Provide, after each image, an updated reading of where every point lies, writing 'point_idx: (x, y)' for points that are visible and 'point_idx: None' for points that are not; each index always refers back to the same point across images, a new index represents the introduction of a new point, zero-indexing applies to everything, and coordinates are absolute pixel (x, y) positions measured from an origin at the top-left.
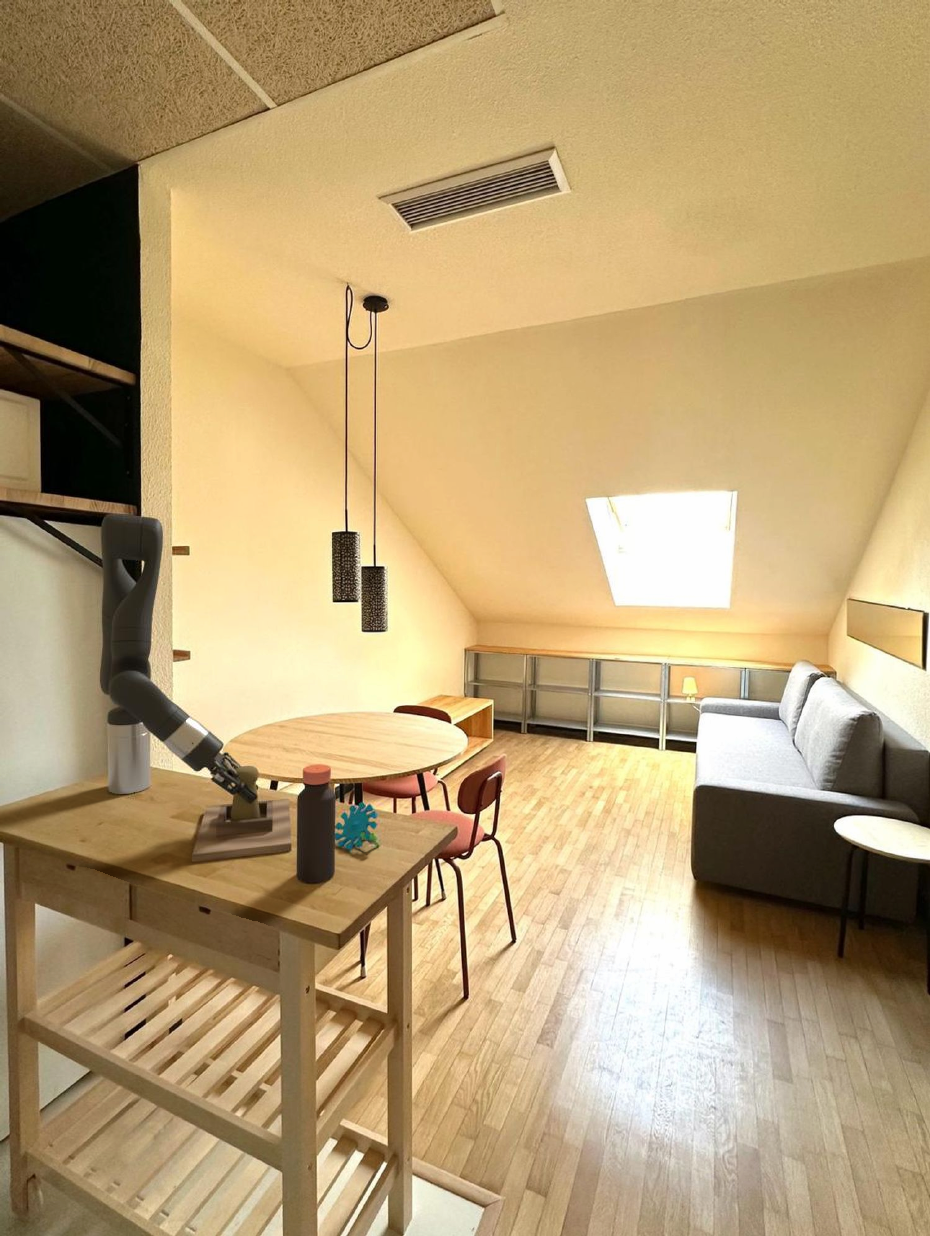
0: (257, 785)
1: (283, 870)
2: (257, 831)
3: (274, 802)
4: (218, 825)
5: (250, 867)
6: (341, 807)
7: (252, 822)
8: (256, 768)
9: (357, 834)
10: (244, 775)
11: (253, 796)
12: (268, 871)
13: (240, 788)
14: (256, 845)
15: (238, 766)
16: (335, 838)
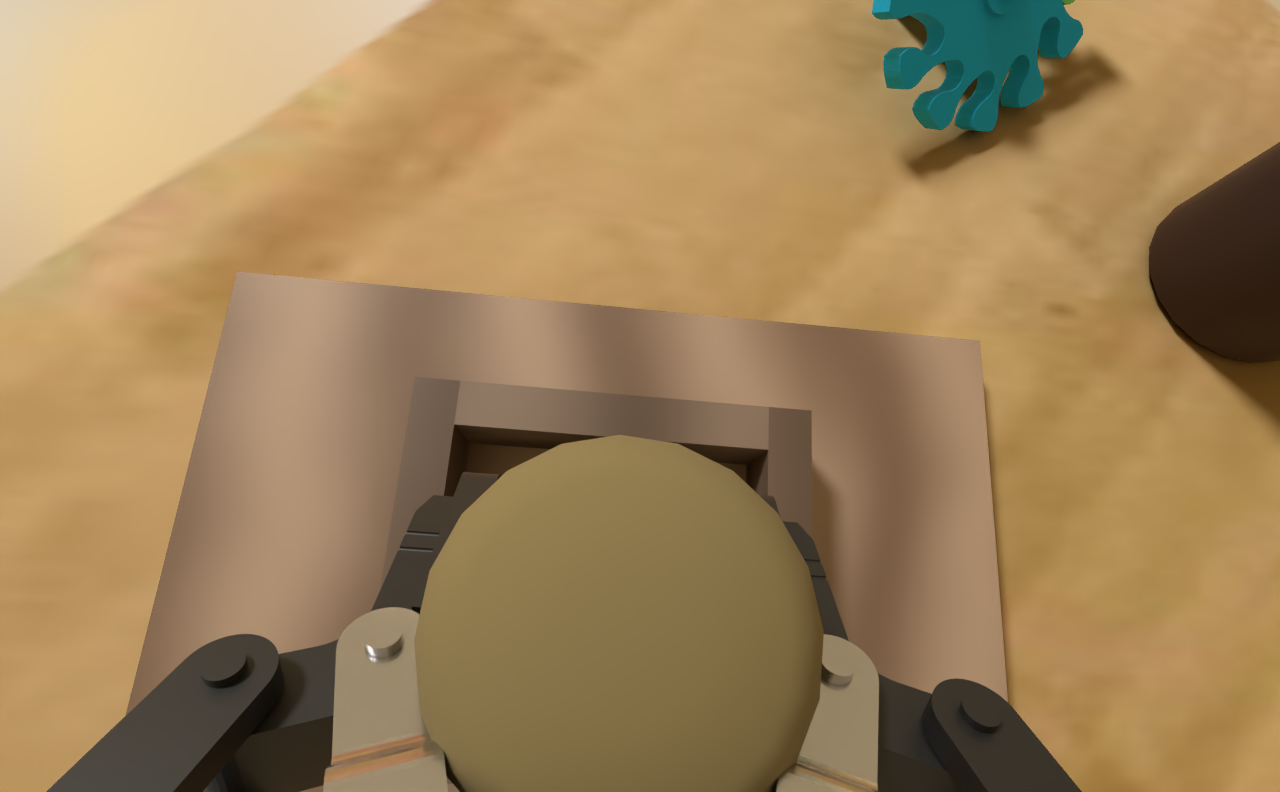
0: (471, 478)
1: (1163, 417)
2: None
3: (268, 374)
4: None
5: (1110, 582)
6: (451, 19)
7: None
8: (629, 452)
9: (1046, 8)
10: (821, 659)
11: (806, 536)
12: (1165, 490)
13: (924, 700)
14: (971, 540)
15: (406, 785)
16: (948, 123)
